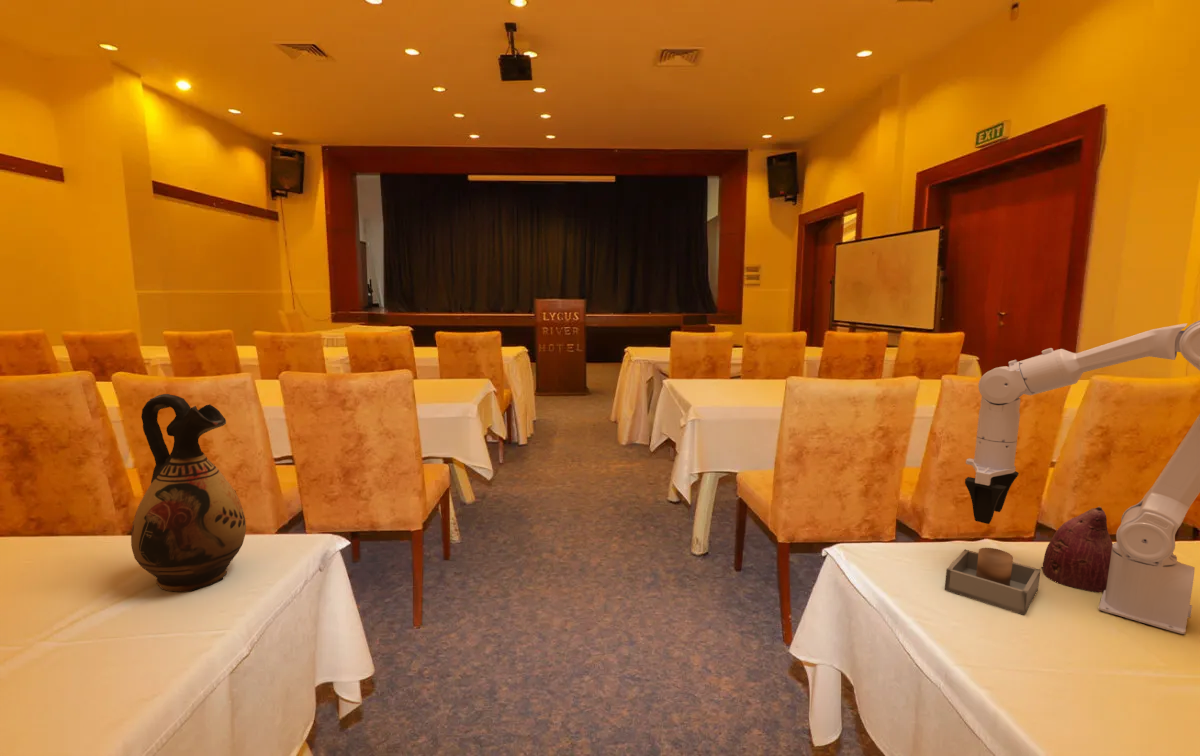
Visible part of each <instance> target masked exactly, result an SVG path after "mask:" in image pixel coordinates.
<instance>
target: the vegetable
mask: <svg viewBox="0 0 1200 756" xmlns="http://www.w3.org/2000/svg"><path fill="white" fill-rule="evenodd" d="M1108 530H1109V529H1108V522H1107V515H1106V513H1105V511H1104V509H1103V508H1102V507H1101V506H1097V507H1095V508H1094V507H1093V508H1090V509H1088V510H1087V511H1085V512H1084V513H1081V514H1079V515H1078V516H1075V517H1072V518H1071V519H1068V520H1067V521H1066V522H1064V523H1063V524H1061V526H1059V528H1058V529H1056V531H1055V532H1054V533H1053V536H1052V538H1051V539H1050V541H1049V543H1048V545H1047V546H1046V549H1045V552H1044V557H1043V561H1042V566H1041V569H1042V568H1043V569H1042V573H1043V575H1044V576H1045V575H1046V577H1047V578H1048V579H1049V578H1050V580H1051V579H1052V580H1051V581H1053V582H1055V581H1056V582H1055V583H1057V582H1058V584H1061V585H1063V586H1067V587H1070V588H1075V589H1079V590H1084V591H1088V592H1092V591H1093V592H1094V593H1099V592H1102V593H1103V592H1104V590H1106V587H1107V579H1108V572H1109V565H1110V558H1111V551H1112V545H1113V544H1114V542H1113V541H1112V539H1111V536H1110V533H1109V531H1108Z"/></svg>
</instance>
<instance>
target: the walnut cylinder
mask: <svg viewBox="0 0 1200 756" xmlns="http://www.w3.org/2000/svg"><path fill="white" fill-rule="evenodd" d="M978 553H979V554H978V563H977V572H976V577H980V578H983V579H987V580H990V581H993V582H997V583H1000V584H1004V585H1007V586H1010V580H1011V572H1012V563H1013V562H1014V556H1013V555H1012V554H1011V553H1009V552H1007V551H1005V550H1002V549H997V548H994V547H981V548H979V549H978Z"/></svg>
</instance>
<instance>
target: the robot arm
mask: <svg viewBox="0 0 1200 756" xmlns="http://www.w3.org/2000/svg"><path fill="white" fill-rule="evenodd" d="M1187 325H1188V323H1187V322H1186V323H1181V324H1180V323H1179V324H1175V325H1170V326H1163V327H1159V328H1153V329H1149V330H1146V331H1143V332H1140V333H1136V334H1134V335H1130V336H1126V337H1124V338H1120V339H1117V340H1114V341H1111V342H1108V343H1104V344H1102V345H1098V346H1095V347H1092V348H1090V349H1087V350H1086V349H1085V350H1083V351H1079V352H1072V351H1069V350H1066V349H1065V348H1060V349H1059V348H1058V349H1055V350H1054V348H1052V347H1049V348H1046V349H1044V350H1042V351H1041V354H1039V355H1035V356H1032V357H1029V358H1026V359H1023V360H1020V361H1018V360H1017V359H1014V360H1010V361H1008V366H1006V365H1005V366H999V367H998V366H997V367H995V368H992V369H991V370H988V371H987V372H985V373H984V374H983V375H982V376H981V377H980V378H979V382H978V385H977V386H978V391H979V394H980V395H981V398H980V399H981V400H980V408H979V410H978V418H977V428H976V429H977V430H976V439H975V449H974V458H970V457H969V458H967V459H965V464H966V465H969V466H972V468H973V469H974V471H975V475H974V476H975V478H974V477H972V476H967V477H966V478H965V479H964V484H965V487H966V488H967V490H968V493H969V496H970V499H971V504H972V505H971V506H972V512H973V517H974V521H975V522H979V523H983V524H986V525H990V523H991V522H992V520H993V517H994V515H995V514H994V513H995V512H996V513H1000V512H1002V511H1003V510H1002V509H1003V507H1004V505H1005V501H1006V499H1007V496H1008V493H1009V490H1010V488H1011V487H1012V485H1013V483H1014V482H1015V481H1016V479H1017V477H1019V473H1020V472H1018V471H1016V465H1015V462H1016V461H1015V460H1016V455H1017V454H1016V453H1017V446H1018V444H1017V443H1018V435H1019V427H1020V418H1021V414H1020V409H1021V408H1020V407H1021V397H1022V396H1023V395H1026V396H1034V395H1037V394H1041V393H1044V392H1045V393H1046V392H1049V391H1053V390H1056V389H1061V388H1064V387H1067V386H1068V387H1069V386H1071V385H1076V384H1078V382H1079V380H1080V379H1081V377H1082V376H1083V374H1084V373H1086V372H1090V371H1094V370H1098V369H1103V368H1106V367H1110V366H1114V365H1118V364H1122V363H1127V362H1129V361H1135V360H1138V359H1144V358H1148V357H1152V358H1157V359H1164V360H1173V361H1174V360H1176V359H1177V355H1178V354H1177V353H1180V354H1181V355H1182V357H1183V358H1184V359H1185V360H1186V361H1187V362H1188V363H1189V364H1191V365H1192V366H1193V367H1195V368H1196V369H1197V370H1198V371H1200V320H1197V321H1195V322H1193V323H1191V324H1190V325H1188V326H1187ZM1183 329H1184V330H1183ZM1199 494H1200V413H1199V414H1198V416H1197V418H1196V419H1195V421H1194V422H1193V424H1192V425H1191V426H1190V427H1189V429H1188V431H1187V433H1186V435H1185V436H1184V437H1183V438H1182V440H1181V442H1180V444H1179V445H1178V446H1177V448H1176V450H1175V451H1174V452H1173V454H1172V456H1171V457H1170V458H1169V460H1168V462H1167V463H1166V465H1165V466H1164V468H1163V469H1162V471H1161V472H1160V473H1159V476H1158V477H1157V478H1156V480H1155V482H1154V483H1153V485H1152V486H1151V487H1150V488H1149V490H1147V492H1146V493H1145V494H1144V496H1143V498H1142V499H1141V500H1140V501H1139V502H1138V503H1136V504H1134V505H1131V506H1130V507H1128V508H1127V509H1126V510H1125V511H1124V512H1123V514H1122V515H1121V518H1120V522H1121V523H1120V525H1119V526H1118V528H1117V530H1116V534H1115V539H1116V542H1113V545H1112V551H1111V558H1110V565H1109V572H1108V579H1107V587H1106V590H1104V592H1102V596H1101V598H1100V601H1099V604H1098V610H1099V611H1101V612H1104V613H1109V614H1111V615H1115V616H1119V617H1123V618H1125V619H1128V620H1132V621H1136V622H1138V623H1143V624H1146V625H1149V626H1153V627H1156V628H1159V629H1162V630H1166V631H1170V632H1173V633H1178V634H1181V635H1185V634H1186V629H1187V625H1188V618H1189V619H1190V618H1191V615H1192V611H1193V609H1192V608H1193V605H1192V604H1191V599H1192V598H1191V597H1192V593H1193V587H1194V586H1193V585H1194V581H1195V567H1194V566H1191V565H1188V564H1185V563H1183V562H1180V561H1178V556H1177V555H1176V554H1174V551H1175V548H1176V534H1177V531H1178V530H1179V528H1180V527H1181V526H1182V523H1183V521H1184V519H1185V517H1186V515H1187V513H1188V511H1189V509H1190V508H1191V506H1192V504H1193V503H1194V501H1196V498H1197V497H1198V496H1199Z"/></svg>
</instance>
